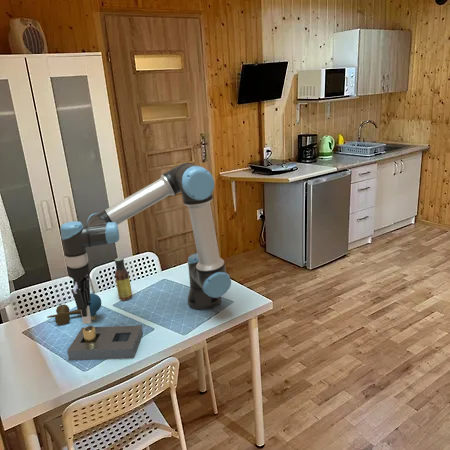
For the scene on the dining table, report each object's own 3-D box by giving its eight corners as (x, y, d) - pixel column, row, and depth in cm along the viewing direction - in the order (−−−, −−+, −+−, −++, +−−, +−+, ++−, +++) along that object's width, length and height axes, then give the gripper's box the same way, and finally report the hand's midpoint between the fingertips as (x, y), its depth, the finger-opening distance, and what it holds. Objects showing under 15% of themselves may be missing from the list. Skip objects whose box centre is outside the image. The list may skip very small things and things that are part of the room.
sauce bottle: (135, 296, 203) (129, 257, 197) (125, 302, 198) (120, 262, 192) (125, 294, 207) (119, 255, 201) (115, 299, 202) (109, 260, 196)
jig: (142, 334, 171) (141, 325, 170) (133, 358, 156) (132, 348, 155) (83, 336, 172) (82, 327, 171) (68, 360, 157) (67, 350, 156)
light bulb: (93, 326, 179) (88, 300, 175) (79, 321, 183) (75, 296, 180) (108, 317, 186) (104, 292, 182) (94, 313, 190) (90, 288, 186)
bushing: (99, 343, 166) (96, 325, 164) (95, 350, 162) (92, 331, 160) (88, 344, 167) (84, 325, 164) (84, 350, 162) (80, 331, 160)
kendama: (96, 319, 186) (47, 328, 180) (95, 310, 195) (48, 318, 188) (95, 307, 184) (45, 315, 178) (94, 298, 193) (46, 306, 187)
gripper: (73, 258, 160) (83, 314, 167) (60, 272, 148) (71, 332, 155) (93, 257, 160) (102, 313, 167) (81, 271, 148) (91, 331, 155)
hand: (87, 322), depth 161 cm, fingers closed
